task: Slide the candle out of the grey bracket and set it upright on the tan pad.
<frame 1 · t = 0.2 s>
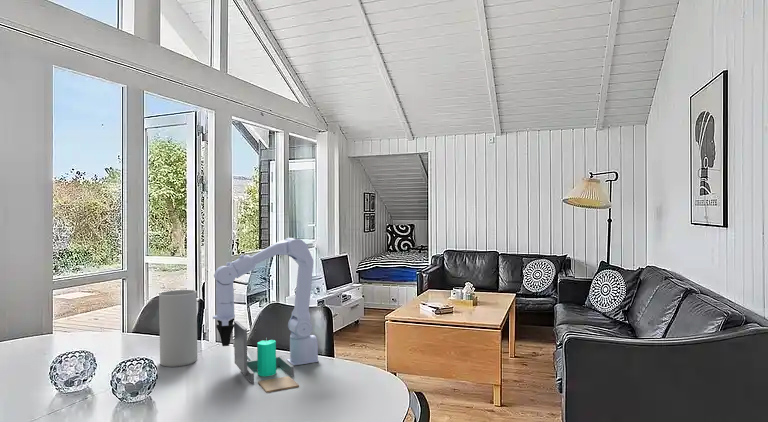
hand: (226, 342, 173), 10 cm above the table, tool pointing down, fingers open, 7 cm apart
cylinder vase: (179, 362, 186), on the table
grey bracket: (266, 373, 171), on the table
tan pad: (278, 384, 160), on the table
candle: (266, 374, 171), resting in grey bracket
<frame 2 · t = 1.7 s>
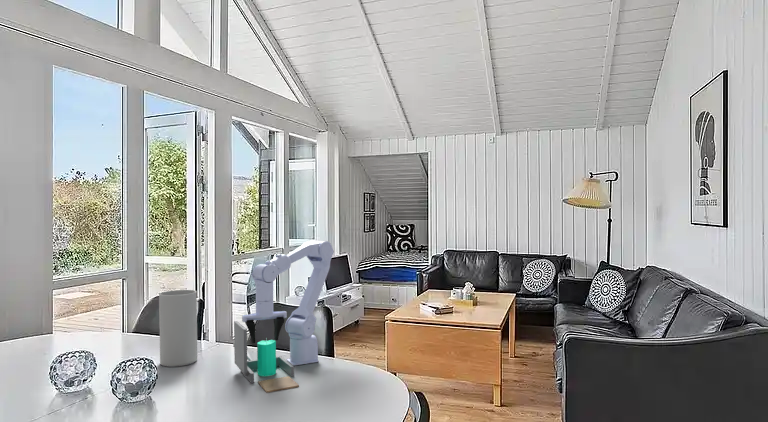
hand: (264, 341, 172), 10 cm above the table, tool pointing down, fingers open, 7 cm apart
nothing on the table moved.
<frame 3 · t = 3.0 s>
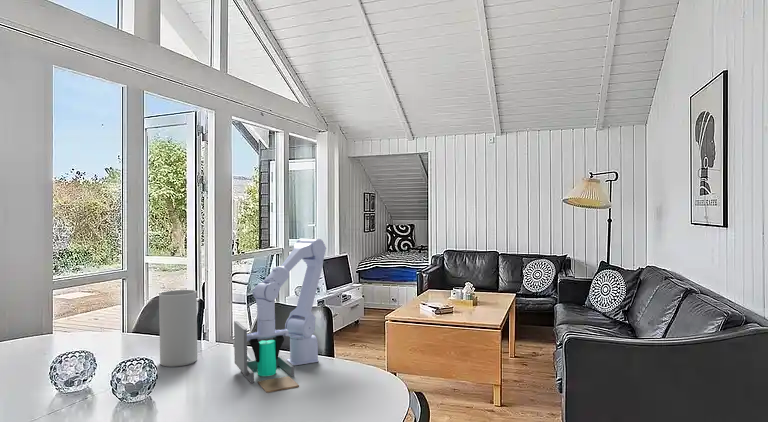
hand: (266, 360, 171), 4 cm above the table, tool pointing down, fingers closed on candle, 5 cm apart
candle: (266, 374, 171), resting in grey bracket, touching gripper
everything else where it was.
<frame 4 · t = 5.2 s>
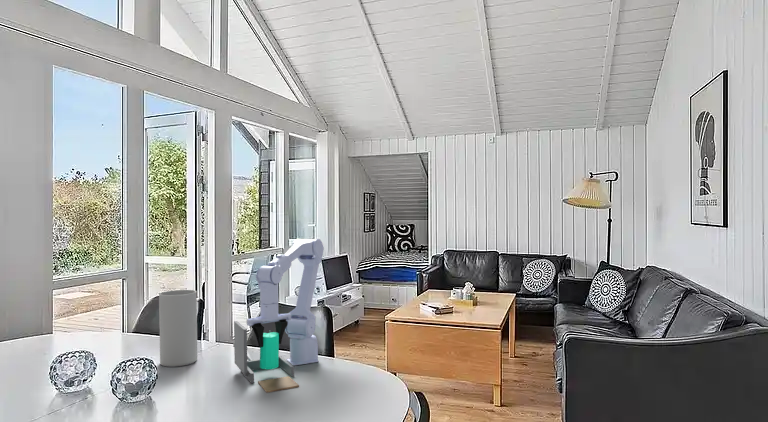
hand: (269, 344, 168), 10 cm above the table, tool pointing down, fingers closed on candle, 6 cm apart
candle: (269, 367, 168), point 3 cm above the table, touching gripper
everything else where it was.
when the fingers open (5 cm above the table, at t = 7.7 s): candle stays where it is, resting on tan pad.
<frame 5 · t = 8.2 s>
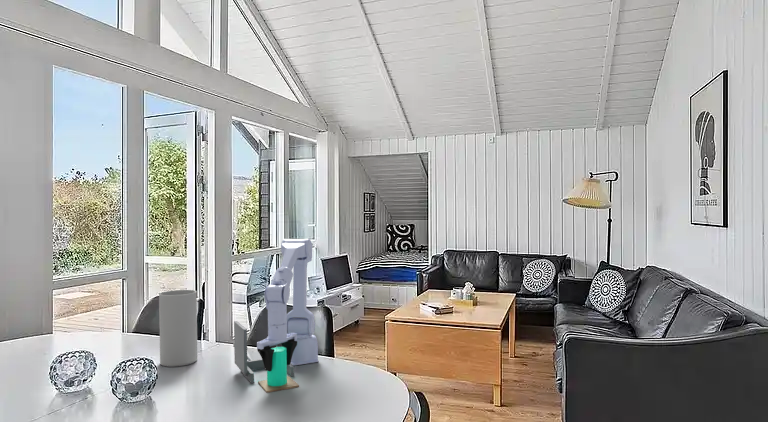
hand: (278, 367, 160), 5 cm above the table, tool pointing down, fingers open, 7 cm apart
candle: (277, 383, 160), resting on tan pad
everything else where it was.
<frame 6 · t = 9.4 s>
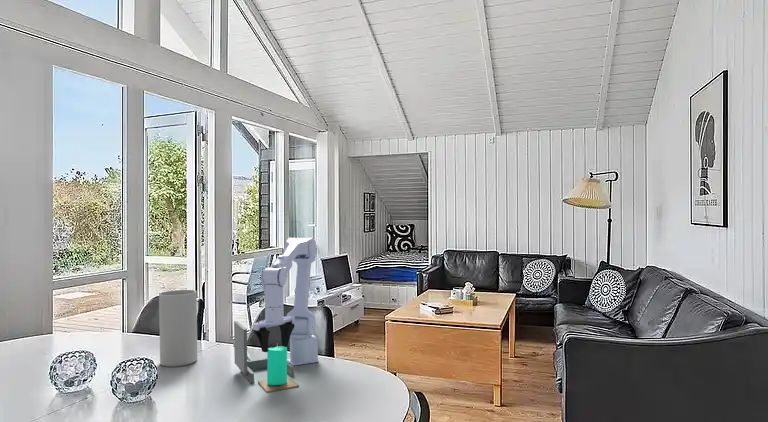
hand: (274, 349, 163), 10 cm above the table, tool pointing down, fingers open, 7 cm apart
candle: (277, 383, 160), resting on tan pad, touching gripper
everything else where it was.
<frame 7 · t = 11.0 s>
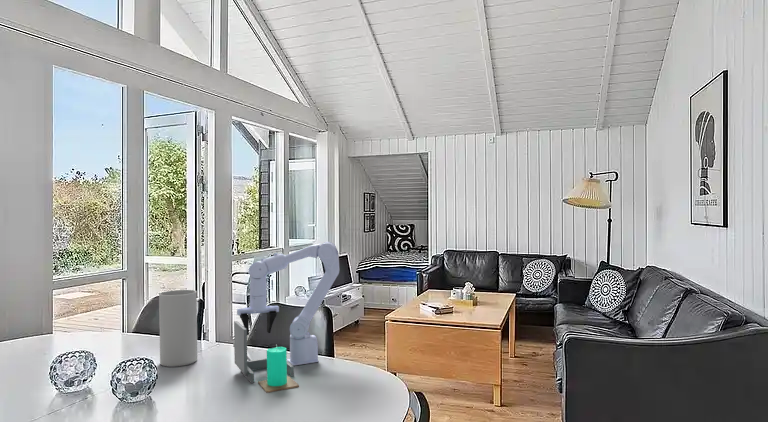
hand: (258, 333, 183), 10 cm above the table, tool pointing down, fingers open, 7 cm apart
candle: (277, 383, 160), resting on tan pad
everything else where it was.
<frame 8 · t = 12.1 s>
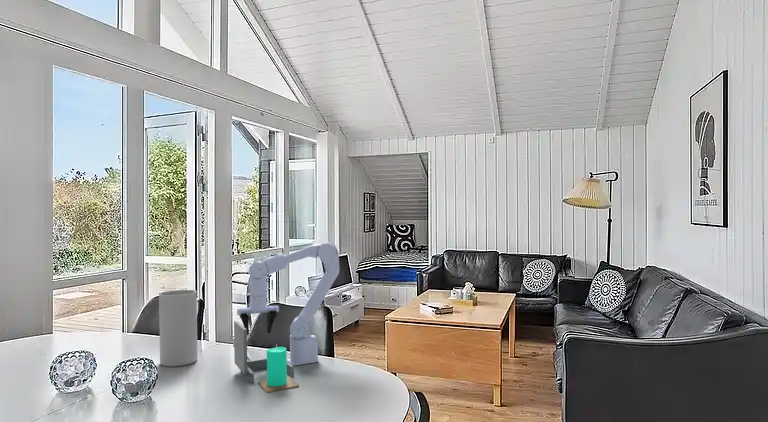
hand: (258, 333, 183), 10 cm above the table, tool pointing down, fingers open, 7 cm apart
nothing on the table moved.
at the end: candle inside the target area (0.5 cm from its centre), resting on tan pad; candle tilted 0°; the gripper is holding nothing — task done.
